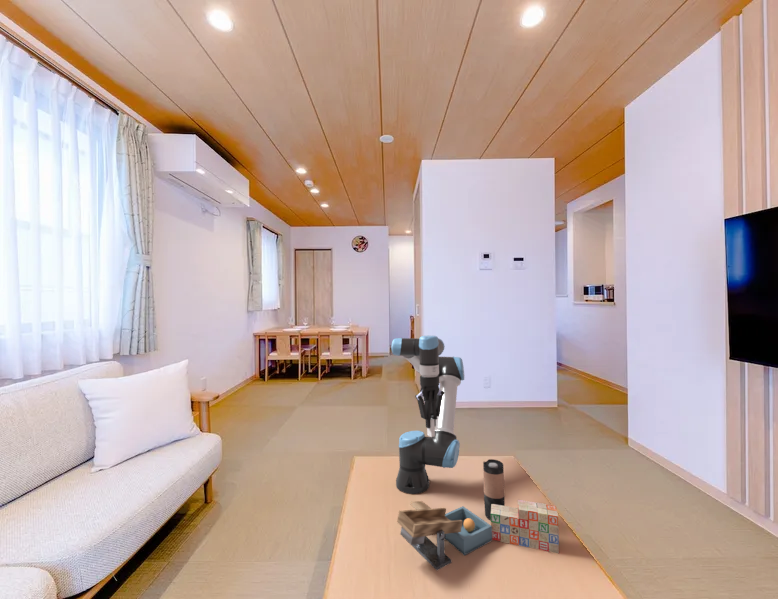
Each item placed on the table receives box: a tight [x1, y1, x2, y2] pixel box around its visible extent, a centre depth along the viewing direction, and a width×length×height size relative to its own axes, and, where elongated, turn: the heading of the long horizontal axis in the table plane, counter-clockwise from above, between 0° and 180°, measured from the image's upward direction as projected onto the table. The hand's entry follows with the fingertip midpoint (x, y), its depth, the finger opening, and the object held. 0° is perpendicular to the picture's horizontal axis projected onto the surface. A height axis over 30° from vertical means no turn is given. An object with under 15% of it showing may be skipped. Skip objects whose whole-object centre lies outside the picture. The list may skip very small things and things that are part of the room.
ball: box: [463, 518, 475, 532], centre depth 122 cm, size 4×4×4 cm
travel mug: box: [482, 458, 506, 521], centre depth 131 cm, size 8×8×20 cm
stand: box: [411, 530, 453, 572], centre depth 112 cm, size 6×14×10 cm, turn 31°
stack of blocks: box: [490, 499, 560, 554], centre depth 117 cm, size 21×6×12 cm, turn 70°
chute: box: [396, 500, 462, 546], centre depth 117 cm, size 20×20×6 cm
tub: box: [444, 505, 493, 557], centre depth 120 cm, size 13×14×5 cm
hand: (431, 435), depth 134 cm, fingers closed
